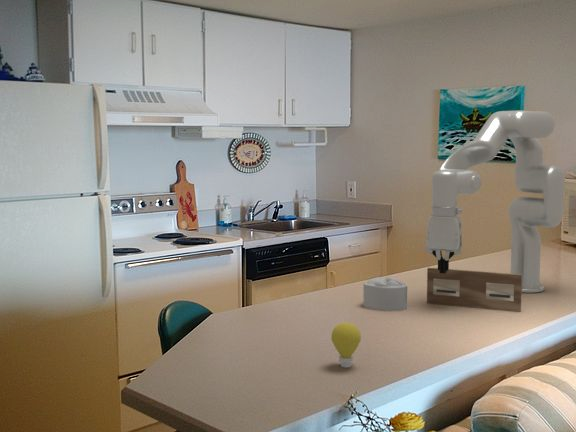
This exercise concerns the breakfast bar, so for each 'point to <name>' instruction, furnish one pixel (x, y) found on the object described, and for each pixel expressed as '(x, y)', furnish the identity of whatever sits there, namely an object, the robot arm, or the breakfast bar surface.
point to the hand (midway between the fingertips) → (443, 272)
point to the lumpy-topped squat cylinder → (385, 294)
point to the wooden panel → (474, 289)
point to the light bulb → (346, 342)
